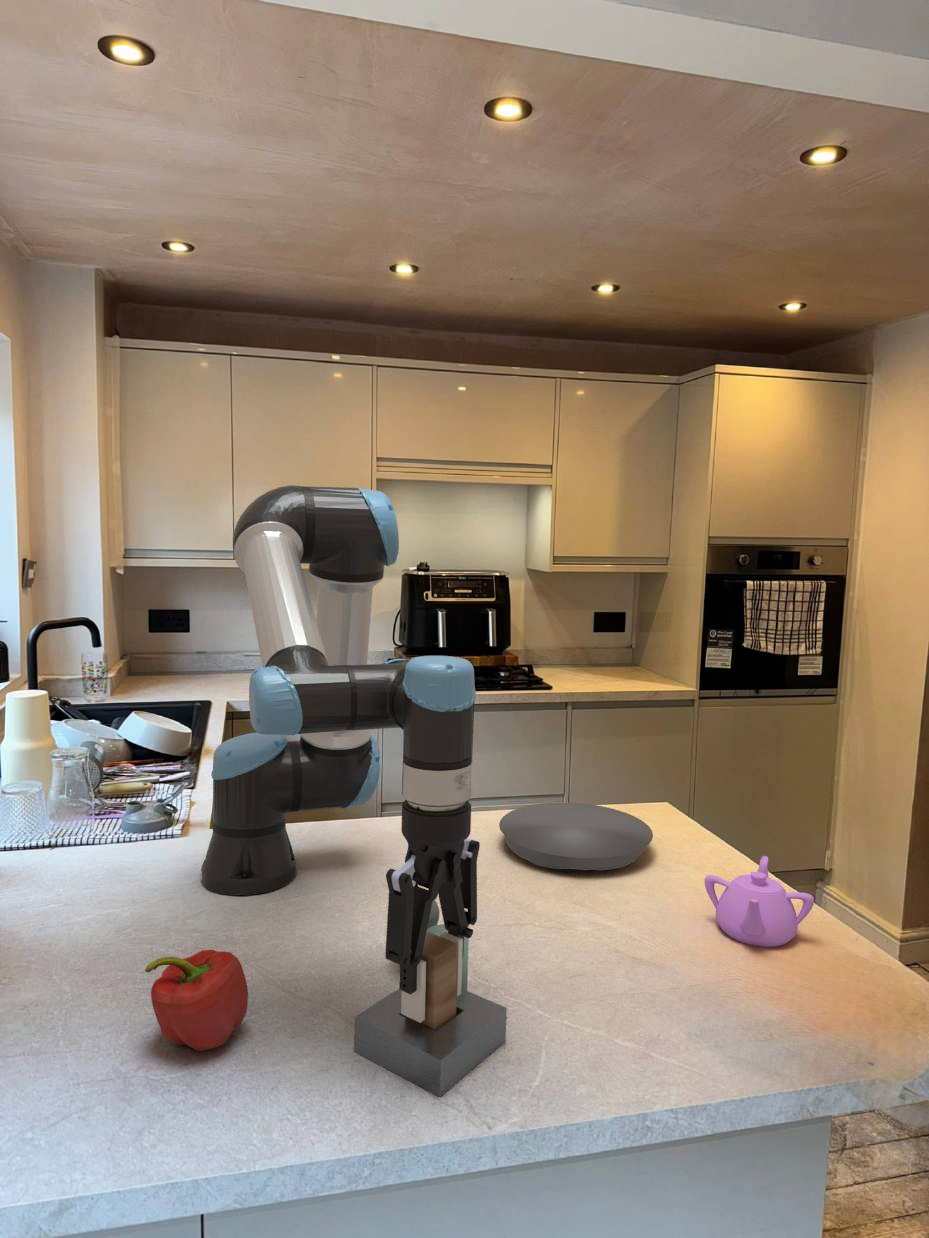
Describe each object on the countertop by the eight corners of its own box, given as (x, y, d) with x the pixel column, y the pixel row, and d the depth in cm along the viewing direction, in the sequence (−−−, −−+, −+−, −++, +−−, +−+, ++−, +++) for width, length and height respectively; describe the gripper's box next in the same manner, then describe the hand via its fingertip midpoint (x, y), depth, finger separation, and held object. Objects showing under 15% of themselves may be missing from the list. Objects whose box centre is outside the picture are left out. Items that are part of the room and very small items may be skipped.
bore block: (354, 1051, 91) (354, 1016, 90) (423, 1003, 100) (423, 972, 100) (440, 1097, 84) (441, 1059, 83) (505, 1041, 93) (506, 1007, 93)
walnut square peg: (405, 1048, 91) (405, 946, 90) (428, 1029, 95) (428, 931, 93) (433, 1062, 89) (434, 958, 87) (455, 1043, 92) (456, 943, 91)
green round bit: (413, 998, 101) (414, 936, 101) (440, 979, 106) (442, 920, 105) (448, 1014, 98) (450, 950, 97) (475, 994, 103) (477, 933, 102)
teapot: (762, 908, 130) (765, 853, 129) (822, 951, 116) (827, 890, 115) (695, 915, 126) (698, 859, 125) (749, 960, 113) (753, 898, 112)
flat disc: (505, 819, 168) (506, 798, 168) (645, 829, 164) (646, 807, 164) (490, 876, 141) (491, 851, 140) (658, 889, 137) (660, 863, 136)
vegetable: (147, 1077, 85) (147, 985, 84) (143, 1023, 95) (142, 939, 94) (255, 1053, 90) (255, 966, 89) (240, 1004, 99) (240, 924, 98)
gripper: (406, 831, 79) (402, 1058, 82) (513, 787, 95) (507, 979, 97) (350, 814, 84) (347, 1030, 86) (460, 775, 99) (456, 959, 101)
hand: (431, 1003), depth 91 cm, fingers open, 6 cm apart
